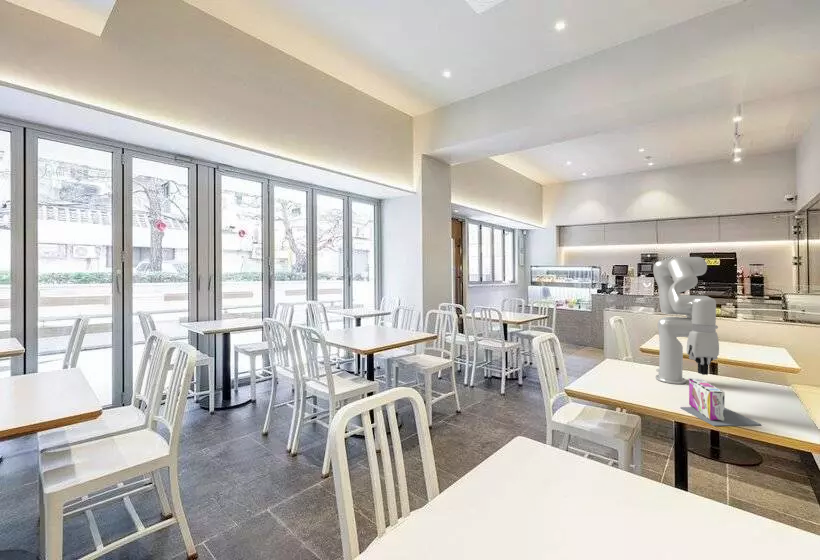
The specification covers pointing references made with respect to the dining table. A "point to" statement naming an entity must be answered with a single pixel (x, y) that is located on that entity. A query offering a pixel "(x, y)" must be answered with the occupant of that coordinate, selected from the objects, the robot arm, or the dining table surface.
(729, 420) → the mat
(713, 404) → the candy bar box
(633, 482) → the dining table surface
